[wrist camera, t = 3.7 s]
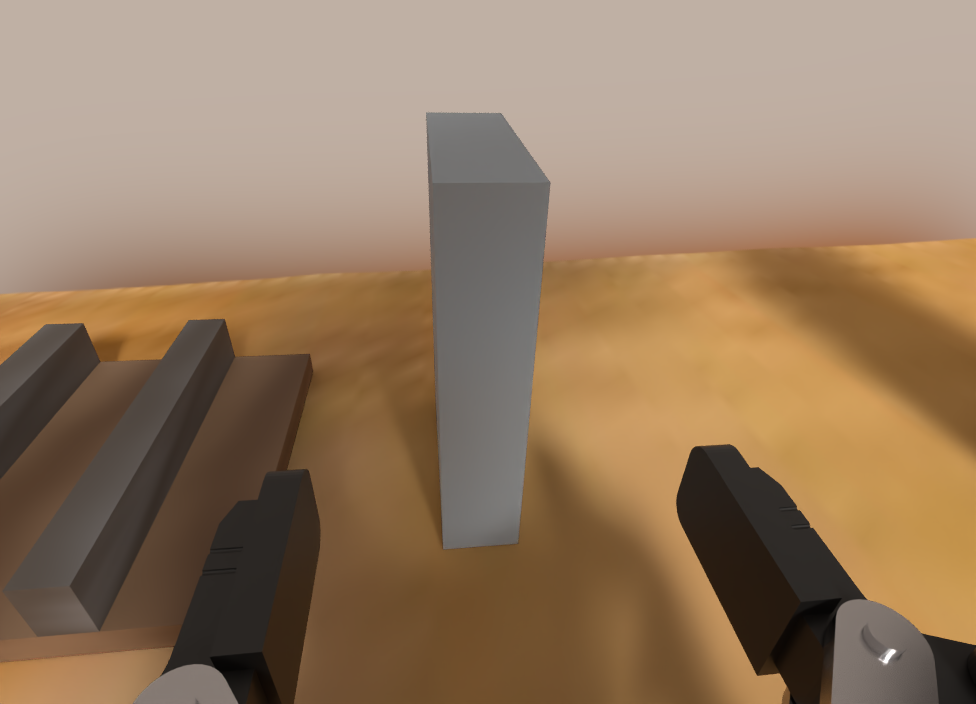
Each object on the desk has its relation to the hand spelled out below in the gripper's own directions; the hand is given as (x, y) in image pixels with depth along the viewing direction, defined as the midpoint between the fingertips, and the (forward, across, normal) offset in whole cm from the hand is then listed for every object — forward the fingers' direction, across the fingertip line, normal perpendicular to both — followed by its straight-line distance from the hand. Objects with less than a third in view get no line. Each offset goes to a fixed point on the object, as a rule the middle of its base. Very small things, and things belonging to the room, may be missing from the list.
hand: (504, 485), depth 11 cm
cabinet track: (+8, +14, +7) cm, 17 cm away
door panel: (+8, 0, +7) cm, 10 cm away
